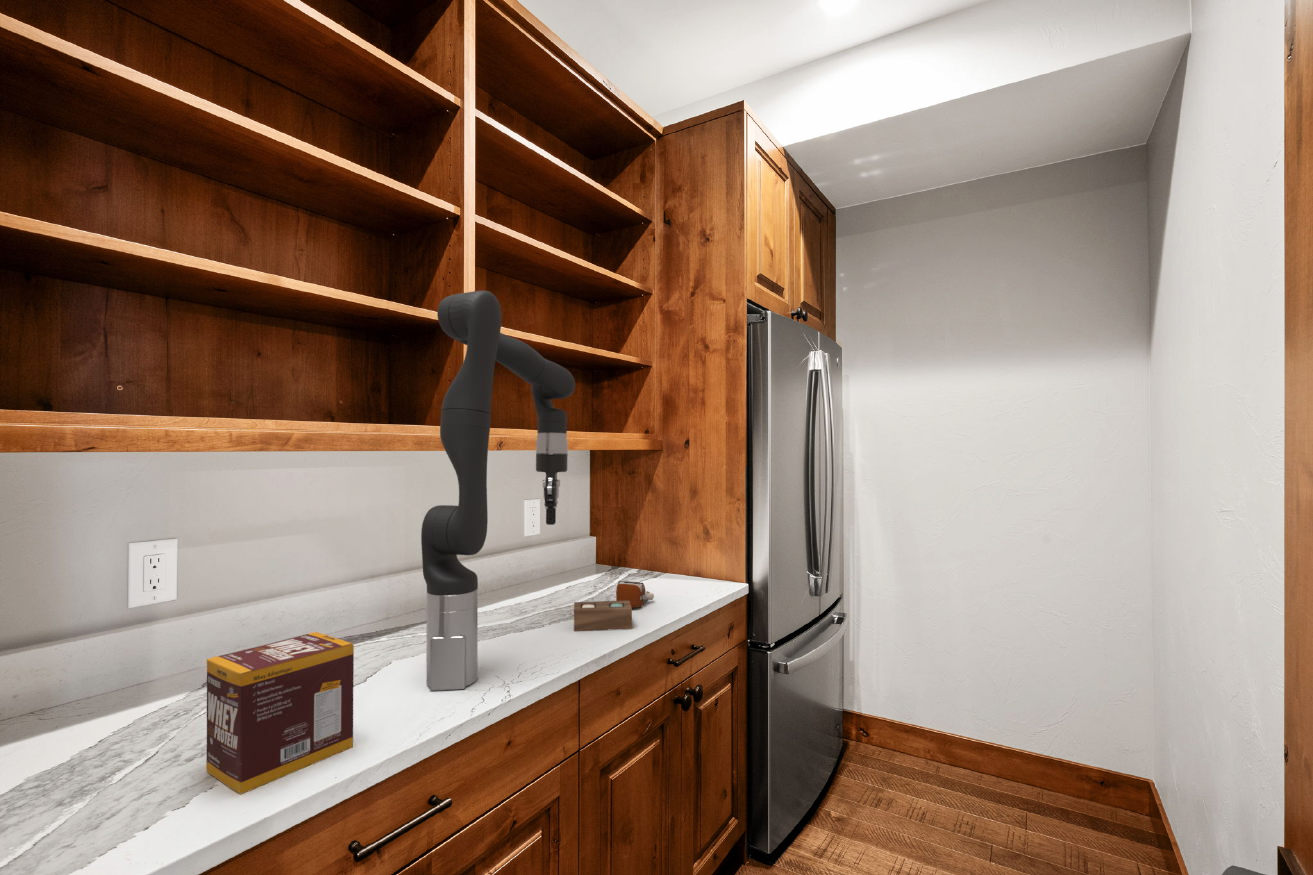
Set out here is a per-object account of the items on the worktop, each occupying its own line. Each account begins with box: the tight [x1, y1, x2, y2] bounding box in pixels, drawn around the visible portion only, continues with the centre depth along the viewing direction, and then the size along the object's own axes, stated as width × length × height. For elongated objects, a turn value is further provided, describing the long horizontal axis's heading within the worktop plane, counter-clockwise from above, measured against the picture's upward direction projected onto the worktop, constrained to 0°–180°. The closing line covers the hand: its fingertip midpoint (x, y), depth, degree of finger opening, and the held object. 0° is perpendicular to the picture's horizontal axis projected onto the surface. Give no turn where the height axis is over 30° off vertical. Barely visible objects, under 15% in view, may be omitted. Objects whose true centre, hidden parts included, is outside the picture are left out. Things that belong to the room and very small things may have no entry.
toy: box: [615, 580, 655, 609], centre depth 174 cm, size 9×7×15 cm
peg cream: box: [582, 604, 594, 608], centre depth 152 cm, size 3×3×5 cm
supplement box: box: [205, 631, 355, 795], centre depth 88 cm, size 10×15×16 cm
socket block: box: [573, 600, 633, 632], centre depth 153 cm, size 8×14×5 cm, turn 97°
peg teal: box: [611, 603, 623, 607], centre depth 153 cm, size 3×3×5 cm
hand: (550, 524), depth 147 cm, fingers closed
